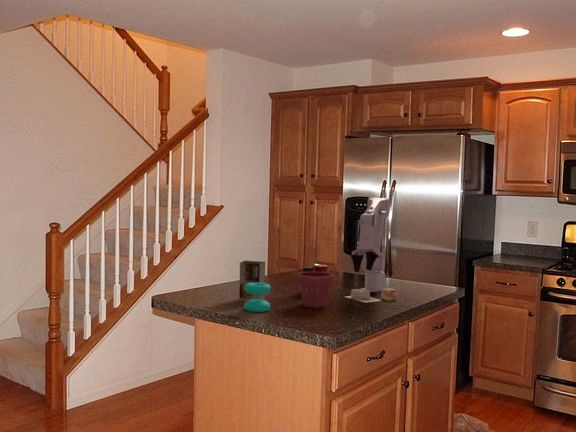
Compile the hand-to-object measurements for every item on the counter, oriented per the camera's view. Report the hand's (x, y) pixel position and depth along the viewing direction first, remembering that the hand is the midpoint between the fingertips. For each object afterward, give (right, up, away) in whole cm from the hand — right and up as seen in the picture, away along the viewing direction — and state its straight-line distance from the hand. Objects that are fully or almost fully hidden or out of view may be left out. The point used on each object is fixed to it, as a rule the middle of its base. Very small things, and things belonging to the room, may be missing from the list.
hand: (362, 270), depth 244 cm
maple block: (+12, -13, +4) cm, 18 cm away
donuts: (-43, -13, -23) cm, 51 cm away
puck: (0, -12, +6) cm, 13 cm away
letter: (+1, -12, +4) cm, 13 cm away
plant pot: (-21, -13, -12) cm, 27 cm away
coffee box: (-46, -12, -6) cm, 48 cm away
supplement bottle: (-23, -12, +11) cm, 28 cm away
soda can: (-17, -11, +19) cm, 28 cm away
